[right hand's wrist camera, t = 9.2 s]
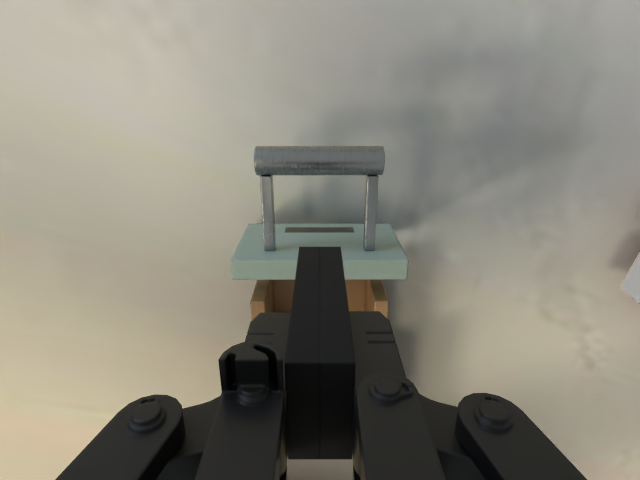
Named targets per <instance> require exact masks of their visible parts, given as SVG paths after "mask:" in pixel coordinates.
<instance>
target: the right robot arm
mask: <svg viewBox="0 0 640 480" xmlns="http://www.w3.org/2000/svg"><path fill="white" fill-rule="evenodd" d="M219 369H220V378H221V387H222V394H221V396H219V397H217V398H216V399H214V400H212V401H209V402H206V403H203V404H200V405H196V406H192V407H188V408H183V409H182V405H181V404H180V403H179V402H178V400H177V399H176V398H173V397H170V396H168V395H151V396H147V397H142V398H140V399H138V400H136V401H134V402H132V403H130V404H128V405H127V406H126V407H124V408H123V409H122V410H121V411H119V412H118V413H117V414H116V415H115V417H114V418H113V419H112V420H111V421H110V422H109V423H108V424H107V425H106V426H105V427H104V428H103V429H102V430H101V432H100V433H99V434H98V435H97V436H96V437H95V438H94V439H93V440H92V441H91V442H90V443H89V444H88V445H87V446H86V448H85V449H84V450H83V451H82V452H81V453H80V454H79V455H78V456H77V457H76V458H75V459H74V460H73V461H72V462H71V464H70V465H69V466H68V467H67V468H66V469H65V470H64V471H63V472H62V473H61V474H60V475H59V476H58V477H57V479H56V480H287V457H288V459H352V455H353V480H587V479H586V478H585V477H584V476H583V475H582V474H581V473H580V472H579V471H578V470H577V469H576V467H575V466H574V465H573V464H572V463H571V462H570V461H569V460H568V459H567V458H566V457H565V456H564V455H563V454H562V453H561V452H560V450H559V449H558V448H557V447H556V446H555V445H554V444H553V443H552V442H551V441H550V440H549V439H548V438H547V437H546V436H545V435H544V434H543V432H542V431H541V430H540V429H539V428H538V427H537V426H536V425H535V424H534V423H533V422H532V421H531V420H530V419H529V418H528V417H527V415H526V414H525V413H524V412H523V411H522V410H521V409H519V408H518V407H517V406H516V405H514V404H513V403H512V402H510V401H508V400H506V399H504V398H502V397H500V396H496V395H492V394H488V393H473V394H471V395H468V396H466V397H464V398H463V399H462V400H461V401H460V403H459V405H458V407H455V406H451V405H447V404H443V403H439V402H436V401H433V400H430V399H428V398H426V397H424V396H422V395H420V394H419V393H418V391H417V389H416V387H415V386H414V384H413V383H412V382H411V381H409V380H408V379H407V378H406V376H405V372H404V369H403V365H402V362H401V359H400V355H399V352H398V348H397V345H396V343H395V338H394V335H393V331H392V328H391V325H390V321H389V320H388V319H387V318H386V317H385V316H384V315H383V314H382V313H381V312H380V311H349V307H348V299H347V291H346V284H345V276H344V268H343V260H342V252H341V247H299V252H298V260H297V268H296V276H295V284H294V291H293V299H292V307H291V312H260V313H259V314H258V315H257V316H256V317H255V318H254V319H253V320H252V321H251V323H250V326H249V330H248V333H247V336H246V340H245V342H243V343H240V344H237V345H235V346H232V347H231V348H229V349H228V350H226V351H225V352H224V353H223V354H222V356H221V357H220V358H219Z"/></svg>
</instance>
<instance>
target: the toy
mask: <svg viewBox="0 0 640 480" xmlns="http://www.w3.org/2000/svg"><path fill="white" fill-rule="evenodd" d="M619 288H620V289H621V290H622V291H624V292H625V293H626V294H627V295H629V296H630V297H631V298H632V299H634V300H635V301H636V302H638V303H640V252H639V254H638V255H637V257H636V259H635V261H634V262H633V264H632V266H631V267H630V269H629V271H628V273H627V274H626V276H625V278H624V279H623V281H622V283H621V284H620V286H619Z"/></svg>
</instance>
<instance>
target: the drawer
mask: <svg viewBox="0 0 640 480" xmlns="http://www.w3.org/2000/svg"><path fill="white" fill-rule="evenodd" d="M384 162H385V154H384V148H383V146H256V147H255V151H254V167H255V172H256V175H261V176H260V182H261V200H262V218H263V224H249V225H248V227H247V229H246V231H245V233H244V235H243V237H242V239H241V241H240V243H239V245H238V247H237V249H236V251H235V253H234V255H233V257H232V259H231V271H232V279H233V280H257V283H256V286H255V289H254V292H253V295H252V299H251V316H252V320H253V319H254V318H255V317H256V316H257V315H258V314H259V313H260V312H291V307H292V299H293V291H294V284H295V276H296V268H297V260H298V252H299V247H341V252H342V260H343V268H344V276H345V284H346V291H347V299H348V307H349V311H380V312H381V313H382V314H383V315H384V316H385V317H386V318H387V317H388V298H387V295H386V292H385V289H384V286H383V282H382V280H384V279H407V271H408V259H407V257H406V255H405V253H404V251H403V249H402V247H401V245H400V243H399V241H398V239H397V237H396V235H395V233H394V231H393V229H392V226H391V224H376V215H377V196H378V175H382V174H383V171H384ZM273 175H366V191H365V215H364V224H275V218H274V195H273Z"/></svg>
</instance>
